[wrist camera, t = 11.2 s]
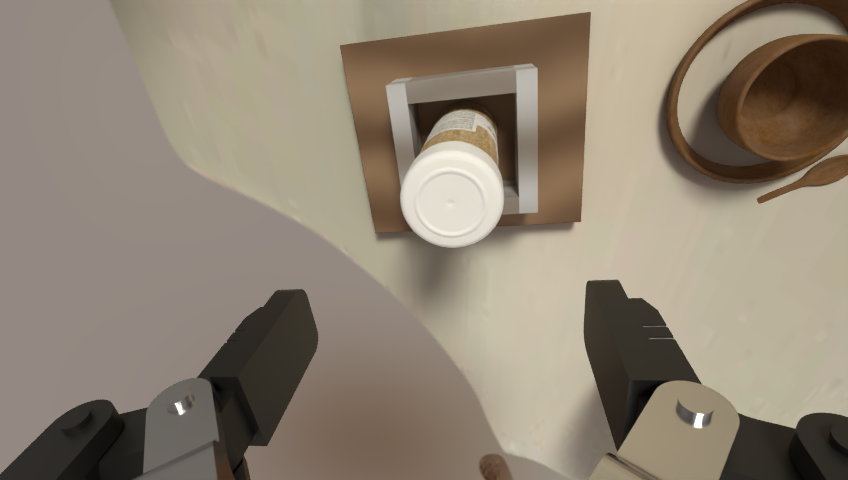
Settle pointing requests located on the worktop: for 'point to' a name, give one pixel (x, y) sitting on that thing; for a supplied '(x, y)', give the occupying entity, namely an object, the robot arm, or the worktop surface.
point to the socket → (490, 88)
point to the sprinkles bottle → (455, 179)
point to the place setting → (778, 104)
